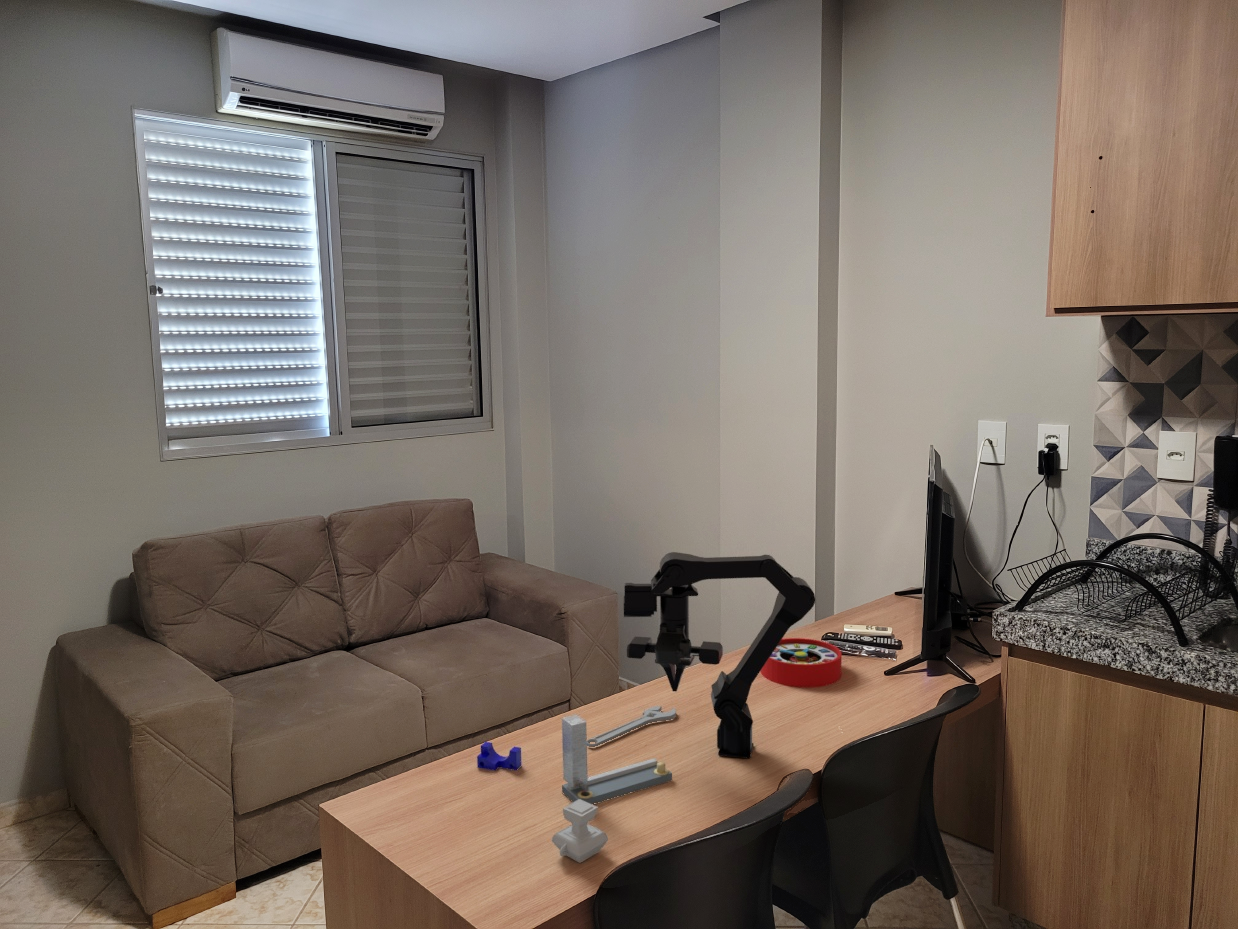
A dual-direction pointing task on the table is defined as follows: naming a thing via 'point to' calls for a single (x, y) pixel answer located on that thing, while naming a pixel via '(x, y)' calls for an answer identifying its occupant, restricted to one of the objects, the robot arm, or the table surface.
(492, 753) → the cable holder
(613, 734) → the adjustable wrench
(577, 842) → the stamp
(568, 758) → the sliding jaw
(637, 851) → the table surface
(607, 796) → the plate
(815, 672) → the toy clock
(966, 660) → the table surface
